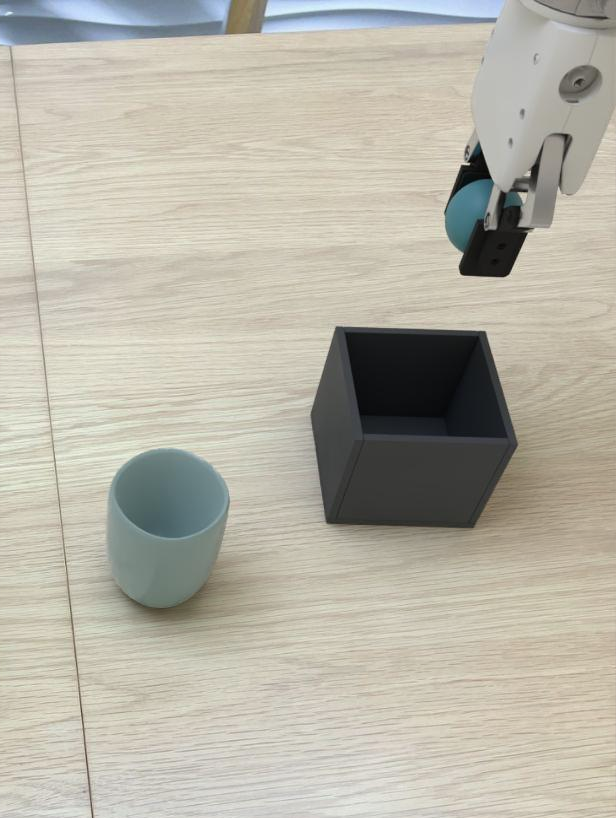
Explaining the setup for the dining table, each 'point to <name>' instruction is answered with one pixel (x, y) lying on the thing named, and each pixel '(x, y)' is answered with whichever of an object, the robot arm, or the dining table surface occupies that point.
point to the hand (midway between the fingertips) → (475, 243)
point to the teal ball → (471, 210)
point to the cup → (165, 525)
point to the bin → (410, 427)
